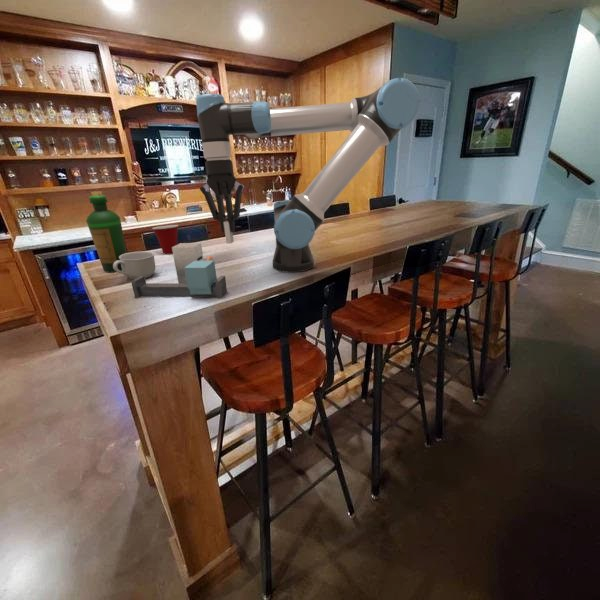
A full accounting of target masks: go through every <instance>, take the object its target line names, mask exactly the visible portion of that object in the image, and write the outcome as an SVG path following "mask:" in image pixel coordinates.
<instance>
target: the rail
mask: <svg viewBox="0 0 600 600" xmlns="http://www.w3.org/2000/svg"><path fill="white" fill-rule="evenodd" d="M215 282H216V283H214V284H213V285H212V286H211V291H212V294H190V289H189V288H188V287H187V283H178V282H177V283H173V282H172V283H170V282H169V283H163V282H161V283H160V282H159V283H151V282H150V283H149V282H148V283H147V280H146V278H145V276H140V277H138V278H136V279H132V280H131V281H130V283H131V288H132V290H133V295H134V298H135V299H139V298H142V297H144V298H146V297H150V298H151V297H156V298H158V297H162V298H163V297H164V298H165V297H169V298H170V297H171V298H173V297H177V298H179V297H182V298H183V297H184V298H185V297H187V298H191V297H192V298H194V297H195V298H197V297H199V298H200V297H201V298H204V297H206V298H216V297H217V299H223V298H224V296H225V295H226V294H227V293H228V287H227V280H226V275H220V276H219V277H218V278H217V280H216V281H215Z"/></svg>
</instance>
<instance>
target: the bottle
mask: <svg viewBox="0 0 600 600" xmlns="http://www.w3.org/2000/svg"><path fill="white" fill-rule="evenodd" d="M90 194H91V195H90V196H89V204H92V207H93V210H94V211H92V212H91V213H89V215H88V216H87V218H86V220H85V221H86V225H87V227H88V229H89V233H90V236H91V239H92V241H93V244H94V246H95V250H96V252H97V253H96V254H97V255H98V259H99V261H100V263H101V266H102V269H103V271H104V272H108V273H117V272H116V271H115V270H114V269H113V264H114V262H115V261H117V260H120V259H119V256H120V255H122V254H125V253H127V248H126V242H125V238H124V232H123V228H122V227H123V226H122V220H121V217H120V216H119V214H118V213H116V212H114V211H113V210H110V209H108V204H107V203H108V202H109V201H108V199H107V196H106V195H105V194H103V192H102V191H101V190H99V191H91V192H90ZM117 268H118V270H120V271H122V267H121V264H120V263H119V264H118V265H117Z"/></svg>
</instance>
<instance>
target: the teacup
mask: <svg viewBox="0 0 600 600" xmlns="http://www.w3.org/2000/svg"><path fill="white" fill-rule="evenodd" d="M119 259H120V260H117V261H115V262H114V264H113V269H114V270H115V271H116V272H115V273H118V274H121V275H123V276H124V277H127V278H129V279H131V280H135V279H136V278H138V277H140V276H145V279H148V278H150V277H151V276H152V274H154V273H155V271H156V262H155V253H154V252H151V251H147V250H146V251H141V250H140V251H131V252H126V253H125V254H122V255H120V256H119ZM119 263H120V264H121V267H122V271H120V270H118V268H117V265H118V264H119Z"/></svg>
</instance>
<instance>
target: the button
mask: <svg viewBox="0 0 600 600" xmlns="http://www.w3.org/2000/svg"><path fill="white" fill-rule="evenodd" d="M197 261H214V258H213V256H207V257H206V258H203V259H197Z"/></svg>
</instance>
